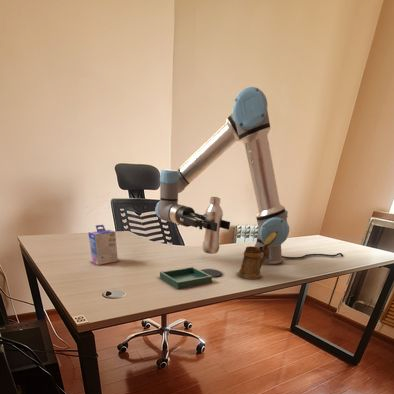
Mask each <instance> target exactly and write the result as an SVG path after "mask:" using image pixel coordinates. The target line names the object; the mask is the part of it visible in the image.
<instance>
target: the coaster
mask: <svg viewBox="0 0 394 394" xmlns="http://www.w3.org/2000/svg"><path fill="white" fill-rule="evenodd" d="M200 271H202V272H204V273H206V274H208V275H210V276H212V278H218V277H221V276H222V275H223V273H222V272H221V271H220V270H217V269H214V268H213V269H212V268H205V269H200Z"/></svg>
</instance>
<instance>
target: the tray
mask: <svg viewBox="0 0 394 394" xmlns="http://www.w3.org/2000/svg"><path fill="white" fill-rule="evenodd" d="M159 279H160V280H162V281H164V282H166V283H167V284H169V285H171V286H172V287H173V288H176V290H179V289H184V288H191V287H194V286H195V287H196V286H200V285H205V284H211V283H212V280H213V277H212V276H210V275H208V274H206V273H204V272H202V271H201V269H198V268H196V267H194V266H189V267H184V268H177V269H172V270H171V269H170V270H165V271H159Z"/></svg>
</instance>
